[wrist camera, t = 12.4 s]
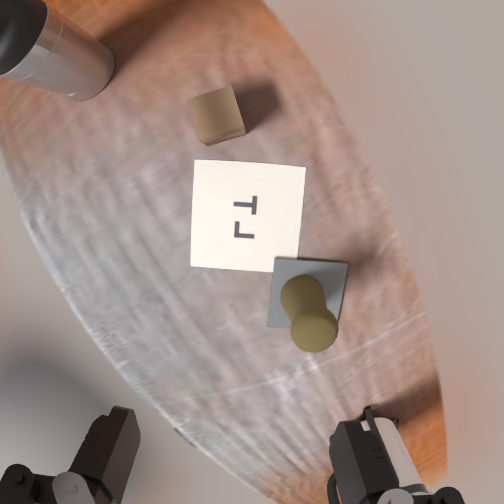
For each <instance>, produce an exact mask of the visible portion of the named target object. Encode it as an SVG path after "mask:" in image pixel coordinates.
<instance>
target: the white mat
mask: <svg viewBox="0 0 504 504" xmlns="http://www.w3.org/2000/svg"><path fill="white" fill-rule="evenodd" d="M305 173H306V167H298V166H288V165H278V164H266V163H253V162H238V161H219V160H195V167H194V183H193V203H192V228H191V266H197V267H210V268H223V269H236V270H249V271H263V272H273V266H274V258H286V259H297V254H298V245H299V236H300V226H301V217H302V206H303V196H304V185H305Z"/></svg>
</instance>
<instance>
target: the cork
mask: <svg viewBox="0 0 504 504" xmlns="http://www.w3.org/2000/svg"><path fill="white" fill-rule="evenodd" d="M280 301H281V304H282V306H283V308H284V310H285V312H286V314H287V315H288V317H289V319H290V321H291V329H290V331H291V336H292V340H293V341H294V343H295V344H296V346H297V347H299V348H300V349H301V350H303V351H307V352H314V353H316V352H320V351H323V350H325V349H327V348H328V347H330V346H331V345H332V344H333V342H334V341H335V339H336V338H337V335H338V321H337V319H336V318H335V316H334V314H333V313H332V312H331V311H330V310H329V309H327V305H326V300H325V296H324V292H323V288H322V286H321V284H320V282H319V281H318V280H316V279H315V278H313V277H311V276H308V275H299V276H295V277H293V278H291V279H289V280H288V281H287V282H286V283H285V284H284V285H283V287H282V289H281V293H280Z"/></svg>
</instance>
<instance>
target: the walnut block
mask: <svg viewBox="0 0 504 504" xmlns="http://www.w3.org/2000/svg"><path fill="white" fill-rule="evenodd" d="M188 104H189V107H190V111H191V114H192V118H193V121H194V125H195V128H196V132H197V135H198V139H199V141H201V142H202V143H204V144H205V145H207V146H210V145H213V144H217V143H220V142H223V141H226V140H230V139H233V138H236V137H240V136H243V135H246V132H245V127H244V124H243V120H242V117H241V114H240V111H239V108H238V104H237V101H236V98H235V95H234V92H233V89H232V86H228V87H225V88H222V89H218V90H215V91H212V92H209V93H205V94H202V95H199V96H196V97H193V98H190V99H188Z"/></svg>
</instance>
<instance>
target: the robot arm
mask: <svg viewBox="0 0 504 504" xmlns="http://www.w3.org/2000/svg"><path fill="white" fill-rule="evenodd" d="M114 65H115V61H114V56H113V54H112V52H111V51H110V50H109V49H108V48H107V47H105V46H104V45H103V44H101V43H100V42H99V41H98V40H96V39H95V38H94V37H92V36H91V35H90V34H88V33H87V32H86V31H84V30H83V29H82V28H80V27H79V26H78V25H76V24H75V23H73V22H72V21H71V20H69V19H68V18H66V17H65V16H64V15H62V14H61V13H59V12H58V11H56V10H55V9H53V8H52V7H51V6H49V5H48V4H46V3H45V2H43V1H42V0H0V77H3V78H7V79H10V80H14V81H18V82H21V83H25V84H28V85H31V86H35V87H38V88H41V89H44V90H47V91H50V92H53V93H56V94H59V95H62V96H65V97H68V98H71V99H74V100H77V101H83V100H87V99H90V98H92V97H93V96H95V95H97V94H98V93H99V92H100V91H101V90H102V89H103V88H104V87H105V86H106V85H107V83H108V81H109V80H110V78H111V76H112V74H113V70H114ZM139 444H140V430H139V427H138V423H137V420H136V416H135V413H134V410H133V409H129V408H124V407H120V406H114V407H113V408H112V410H111V412H110V414H109V416H104V415H101V416H100V417H99V418H97V419H96V420H95V421H94V422H93V423H92V425H91V427H90V429H89V431H88V434H87V435H86V437H85V439H84V441H83V443H82V445H81V447H80V449H79V451H78V453H77V455H76V457H75V459H74V461H73V463H72V465H71V467H70V469H69V470H68V471H67V472H63V473H60V474H58V475H57V476H46V475H39V474H33V473H32V472H31V471H30V469H29V468H27V467H26V466H24V465H21V464H13V465H11V466H9V467H8V468H7V469H6V471H5V473H4V475H3V477H2V479H1V481H0V504H111V503H112V504H121V501H122V497H123V494H124V491H125V487H126V484H127V481H128V478H129V475H130V471H131V469H132V466H133V462H134V459H135V456H136V453H137V450H138V447H139ZM329 454H330V459H331V462H332V466H333V470H334V474H335V478H336V482H337V486H338V490H339V494H340V498H341V502H342V504H465V503H464V501H463V498H462V496H461V494H460V492H459V491H458V490H456V489H455V488H453V487H444V488H441V489H439V490H438V491H437V492H436V493H435V494H431V495H411V494H410V493H408V492H407V491H405V490H403V489H401V488H400V487H399V486H398V484H397V481H396V479H395V476H394V474H393V471H392V469H391V467H390V464H389V462H388V459H387V458H386V455H385V452H384V450H383V447H382V445H381V443H380V440H379V438H378V437H377V436H376V435H375V434H374V433H373V432H372V431H371V430H367V431H364V429H363V427H362V424H361V422H360V421H359V420H350V421H341V422H339V424H338V426H337V428H336V431H335V433H334V435H333V438H332V440H331V442H330V447H329Z"/></svg>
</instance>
